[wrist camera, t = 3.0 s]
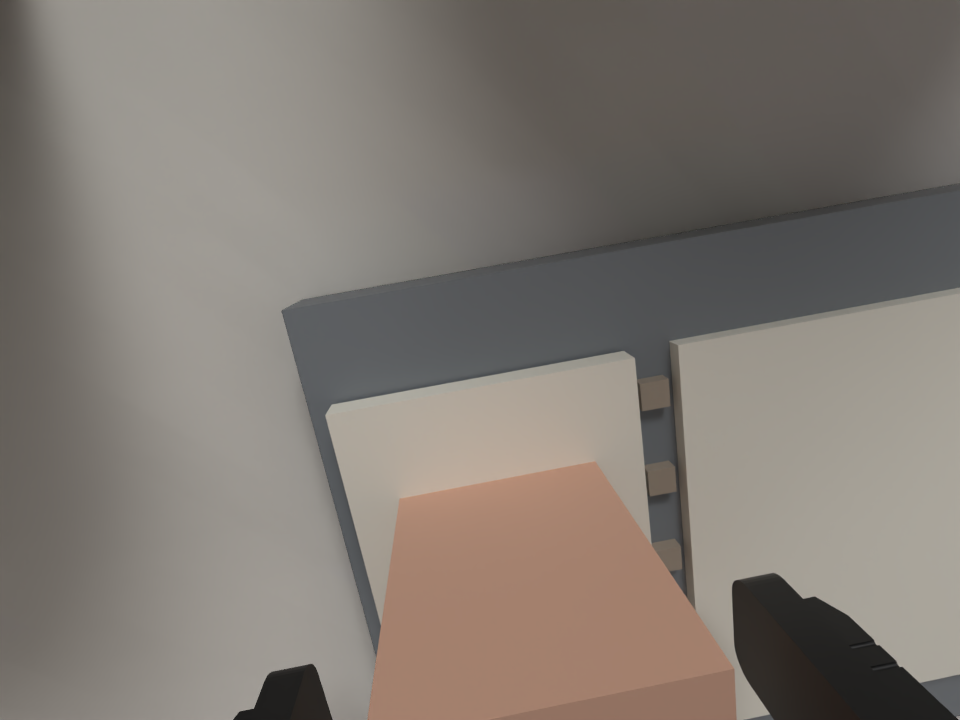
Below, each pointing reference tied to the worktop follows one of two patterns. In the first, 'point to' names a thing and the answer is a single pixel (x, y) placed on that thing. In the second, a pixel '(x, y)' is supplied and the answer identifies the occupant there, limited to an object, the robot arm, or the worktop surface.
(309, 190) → the worktop surface
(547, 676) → the ticket stub
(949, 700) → the board
